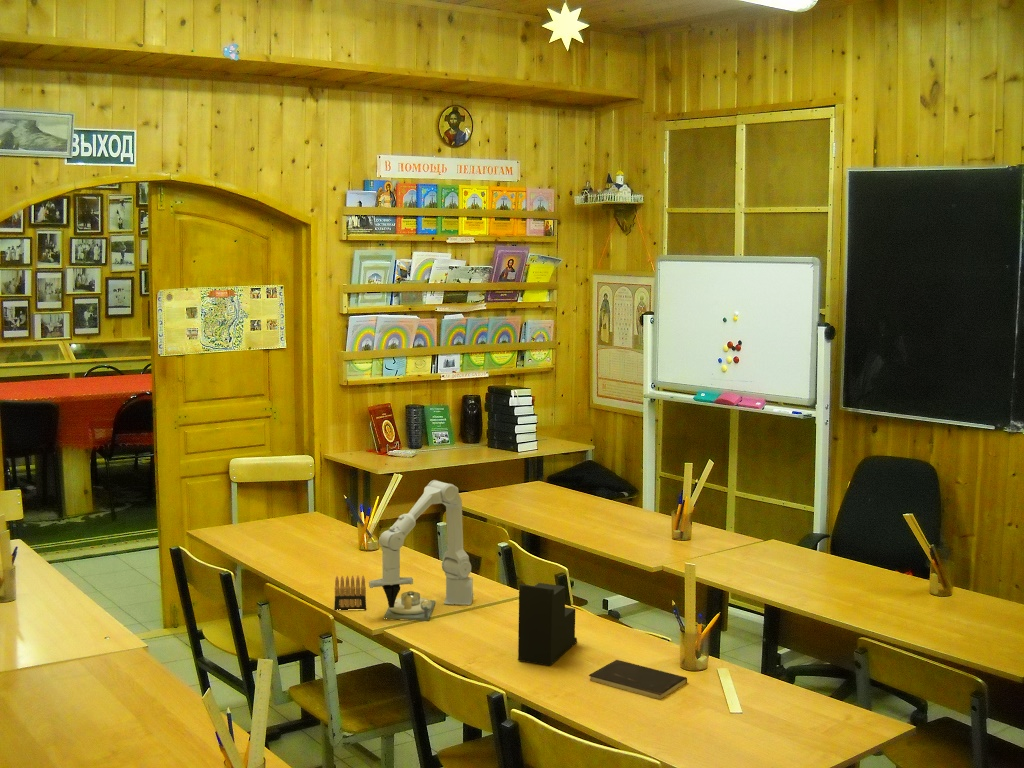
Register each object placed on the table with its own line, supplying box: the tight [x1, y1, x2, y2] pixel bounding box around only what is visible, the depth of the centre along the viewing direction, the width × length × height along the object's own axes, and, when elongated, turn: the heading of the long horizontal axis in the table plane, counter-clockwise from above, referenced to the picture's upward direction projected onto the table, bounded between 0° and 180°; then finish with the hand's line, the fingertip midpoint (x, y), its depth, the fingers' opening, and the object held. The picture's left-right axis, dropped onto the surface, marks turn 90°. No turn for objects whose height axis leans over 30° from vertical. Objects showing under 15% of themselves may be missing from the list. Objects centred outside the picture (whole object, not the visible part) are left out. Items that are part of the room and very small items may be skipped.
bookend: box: [517, 582, 578, 666], centre depth 340 cm, size 23×11×24 cm, turn 157°
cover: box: [400, 590, 421, 606], centre depth 378 cm, size 6×6×4 cm
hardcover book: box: [588, 659, 688, 700], centre depth 318 cm, size 16×23×2 cm
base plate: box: [383, 599, 437, 622], centre depth 378 cm, size 15×19×1 cm
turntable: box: [388, 596, 432, 614], centre depth 378 cm, size 14×14×6 cm
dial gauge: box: [421, 599, 432, 617], centre depth 369 cm, size 4×1×7 cm, turn 87°
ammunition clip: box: [333, 574, 367, 610], centre depth 378 cm, size 11×2×12 cm, turn 96°
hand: (391, 606), depth 370 cm, fingers closed
